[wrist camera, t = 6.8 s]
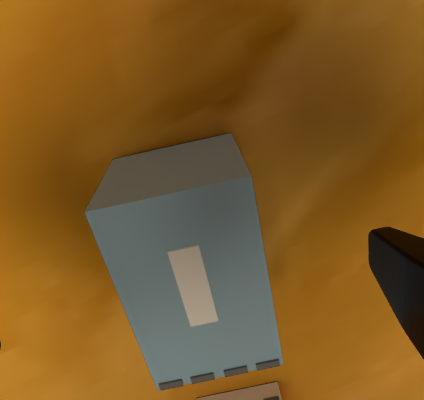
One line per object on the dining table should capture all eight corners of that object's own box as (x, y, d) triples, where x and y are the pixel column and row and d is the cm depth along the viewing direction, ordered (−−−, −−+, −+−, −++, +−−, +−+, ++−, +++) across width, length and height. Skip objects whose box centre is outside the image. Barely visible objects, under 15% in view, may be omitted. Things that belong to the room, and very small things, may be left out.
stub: (259, 284, 18) (283, 365, 14) (163, 305, 18) (157, 392, 14) (231, 132, 15) (252, 177, 10) (112, 159, 15) (83, 213, 10)
